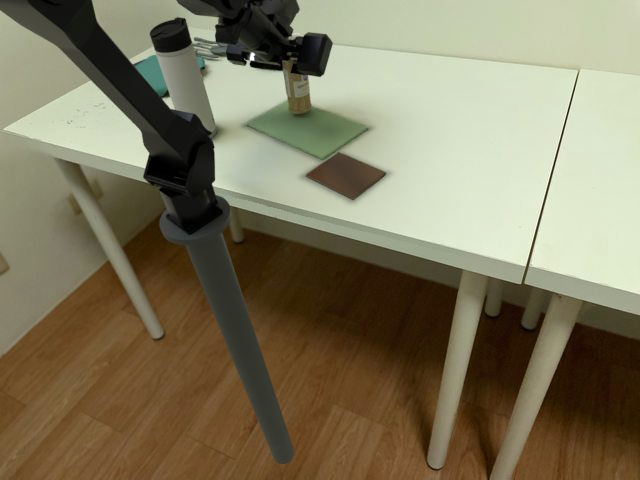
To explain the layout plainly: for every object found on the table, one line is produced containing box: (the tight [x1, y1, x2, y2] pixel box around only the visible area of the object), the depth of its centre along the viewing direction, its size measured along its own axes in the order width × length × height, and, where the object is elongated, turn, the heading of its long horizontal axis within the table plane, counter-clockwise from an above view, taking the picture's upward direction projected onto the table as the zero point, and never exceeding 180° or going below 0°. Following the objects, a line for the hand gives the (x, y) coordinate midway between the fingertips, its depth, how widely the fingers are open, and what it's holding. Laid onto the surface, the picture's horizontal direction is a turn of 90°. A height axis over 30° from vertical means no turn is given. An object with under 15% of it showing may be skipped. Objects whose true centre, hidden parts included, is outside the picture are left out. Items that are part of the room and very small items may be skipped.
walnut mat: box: [305, 151, 387, 200], centre depth 74 cm, size 8×10×1 cm
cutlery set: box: [132, 36, 227, 97], centre depth 111 cm, size 20×30×2 cm, turn 147°
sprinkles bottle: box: [282, 32, 313, 114], centre depth 85 cm, size 5×5×14 cm
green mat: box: [246, 100, 369, 161], centre depth 86 cm, size 12×20×1 cm, turn 46°
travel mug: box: [149, 16, 218, 139], centre depth 82 cm, size 6×7×20 cm
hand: (299, 70), depth 85 cm, fingers closed on sprinkles bottle, 4 cm apart
